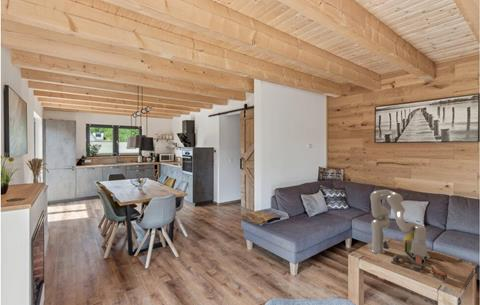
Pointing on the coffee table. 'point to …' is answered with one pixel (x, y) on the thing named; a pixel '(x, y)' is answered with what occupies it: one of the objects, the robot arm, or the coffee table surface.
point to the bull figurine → (438, 273)
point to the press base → (406, 264)
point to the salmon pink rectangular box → (418, 263)
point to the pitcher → (408, 237)
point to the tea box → (408, 247)
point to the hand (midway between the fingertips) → (418, 262)
